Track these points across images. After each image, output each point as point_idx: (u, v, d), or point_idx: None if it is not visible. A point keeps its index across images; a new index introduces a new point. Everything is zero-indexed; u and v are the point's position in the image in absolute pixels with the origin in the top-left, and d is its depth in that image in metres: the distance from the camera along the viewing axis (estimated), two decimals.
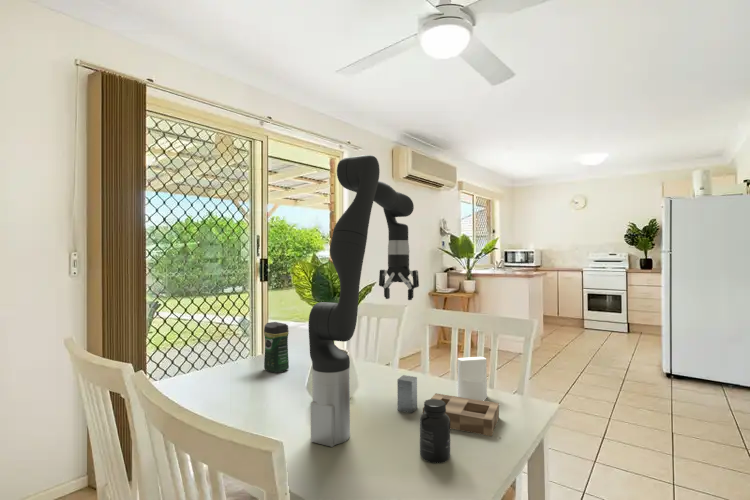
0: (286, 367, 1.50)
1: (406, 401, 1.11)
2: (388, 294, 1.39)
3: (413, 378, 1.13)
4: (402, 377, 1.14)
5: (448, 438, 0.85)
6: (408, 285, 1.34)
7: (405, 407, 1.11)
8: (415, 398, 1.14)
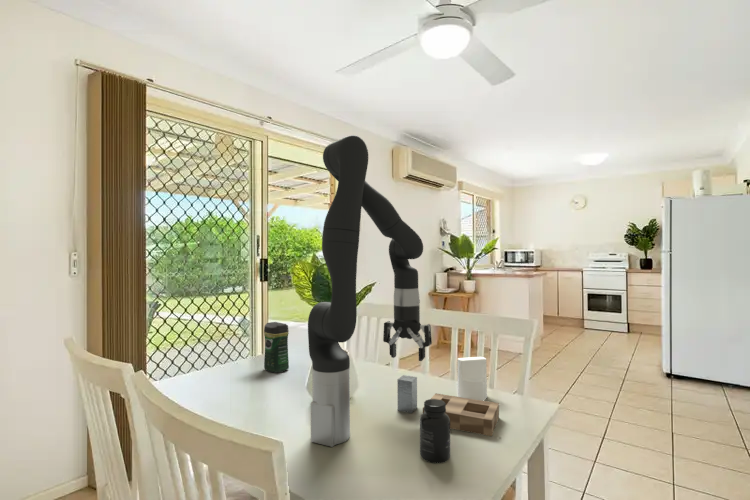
0: (286, 367, 1.50)
1: (406, 401, 1.11)
2: (394, 352, 1.15)
3: (413, 378, 1.13)
4: (402, 377, 1.14)
5: (448, 438, 0.85)
6: (419, 343, 1.11)
7: (405, 407, 1.11)
8: (415, 398, 1.14)
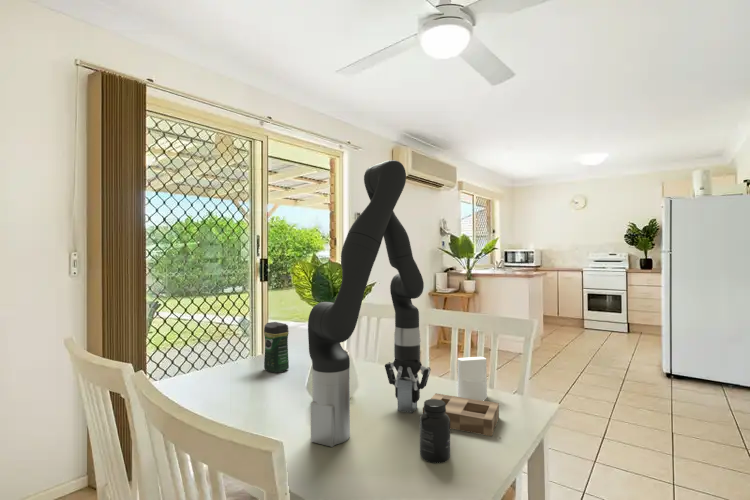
0: (286, 367, 1.50)
1: (406, 400, 1.11)
2: None
3: None
4: (402, 377, 1.14)
5: (448, 438, 0.85)
6: (414, 385, 1.11)
7: (405, 407, 1.11)
8: None
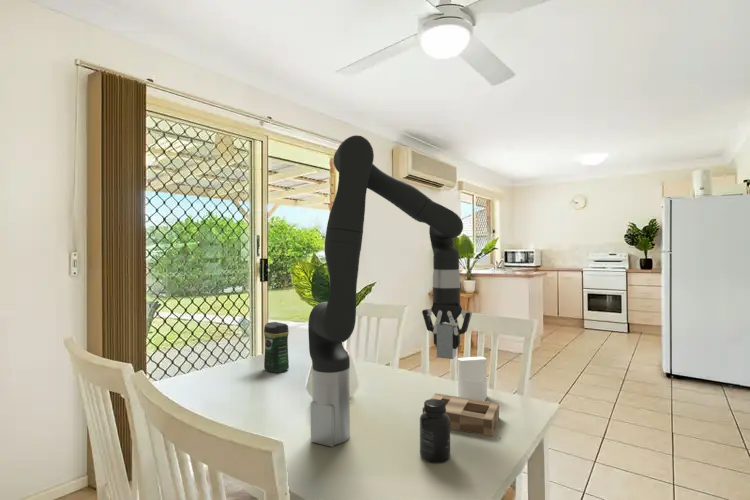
0: (286, 367, 1.50)
1: (446, 346, 1.06)
2: None
3: None
4: (441, 323, 1.09)
5: (448, 438, 0.85)
6: (455, 330, 1.06)
7: (445, 353, 1.06)
8: None
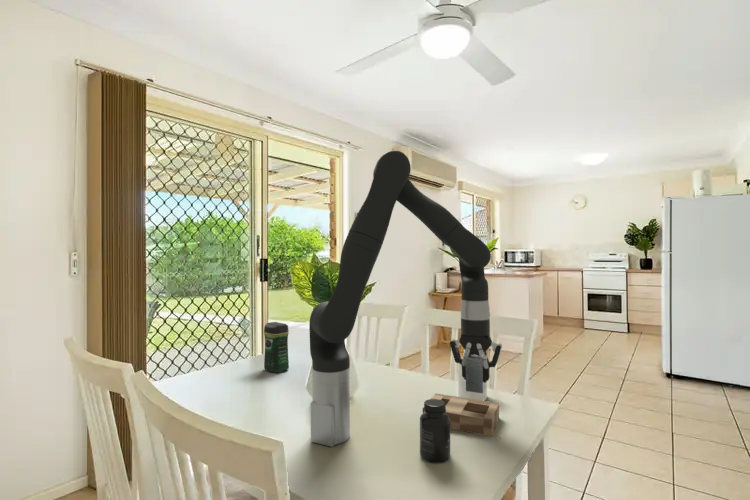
0: (286, 367, 1.50)
1: (476, 380, 1.02)
2: None
3: None
4: (469, 355, 1.05)
5: (448, 438, 0.85)
6: (485, 363, 1.02)
7: (475, 386, 1.02)
8: None
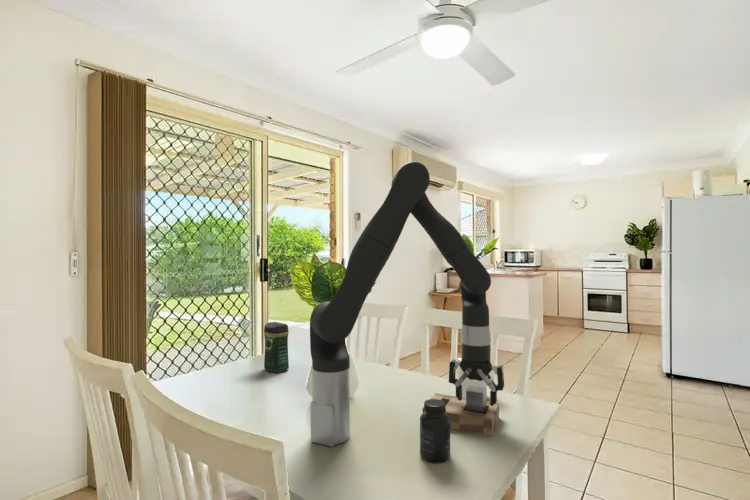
0: (286, 367, 1.50)
1: None
2: (461, 394, 1.06)
3: (483, 389, 1.04)
4: (470, 388, 1.05)
5: (448, 438, 0.85)
6: (491, 386, 1.01)
7: None
8: (485, 411, 1.04)
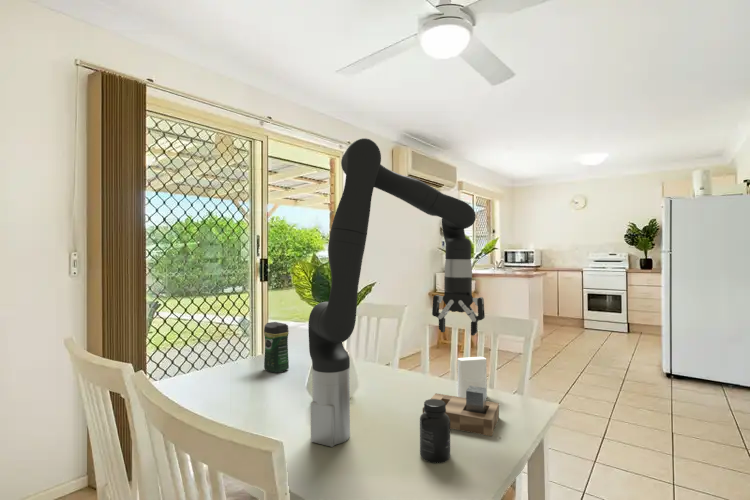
0: (286, 367, 1.50)
1: None
2: (444, 327, 1.11)
3: (483, 389, 1.04)
4: (470, 388, 1.05)
5: (448, 438, 0.85)
6: (471, 316, 1.06)
7: None
8: (485, 411, 1.04)
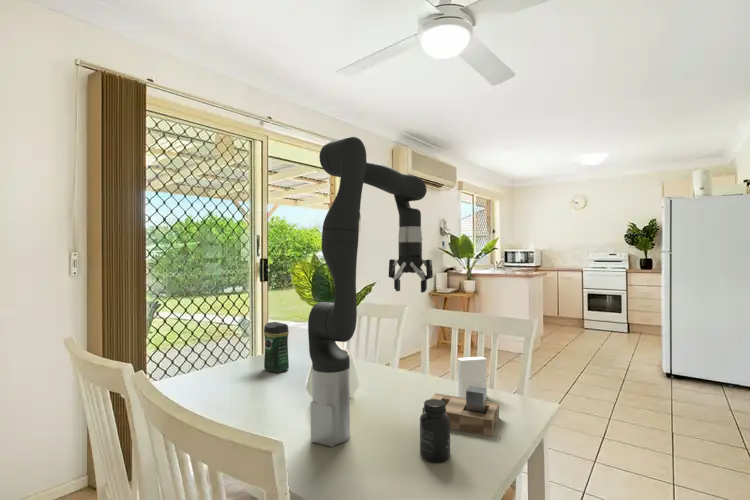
0: (286, 367, 1.50)
1: None
2: (398, 286, 1.27)
3: (483, 389, 1.04)
4: (470, 388, 1.05)
5: (448, 438, 0.85)
6: (421, 276, 1.22)
7: None
8: (485, 411, 1.04)
